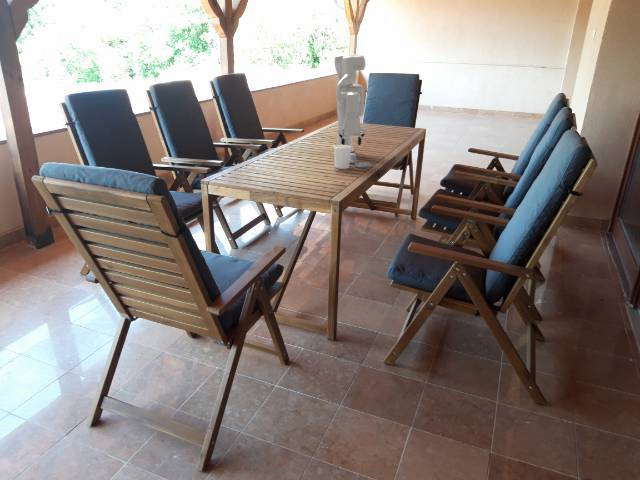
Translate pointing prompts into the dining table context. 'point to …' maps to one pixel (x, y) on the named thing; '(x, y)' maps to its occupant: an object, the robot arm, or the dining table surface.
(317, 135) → the dining table surface
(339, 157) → the candle holder
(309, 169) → the dining table surface
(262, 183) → the dining table surface
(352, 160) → the letter block
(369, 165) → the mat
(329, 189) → the dining table surface
